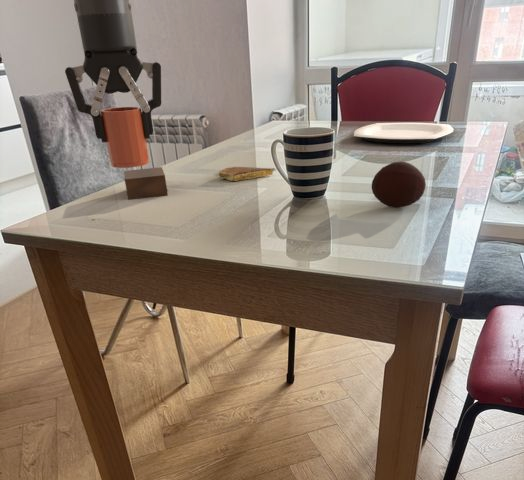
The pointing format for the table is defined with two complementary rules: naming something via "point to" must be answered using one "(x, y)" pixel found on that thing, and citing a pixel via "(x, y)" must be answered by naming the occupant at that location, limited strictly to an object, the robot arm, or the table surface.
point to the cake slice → (244, 173)
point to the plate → (403, 132)
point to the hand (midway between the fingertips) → (125, 139)
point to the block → (145, 183)
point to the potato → (398, 184)
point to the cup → (125, 136)
